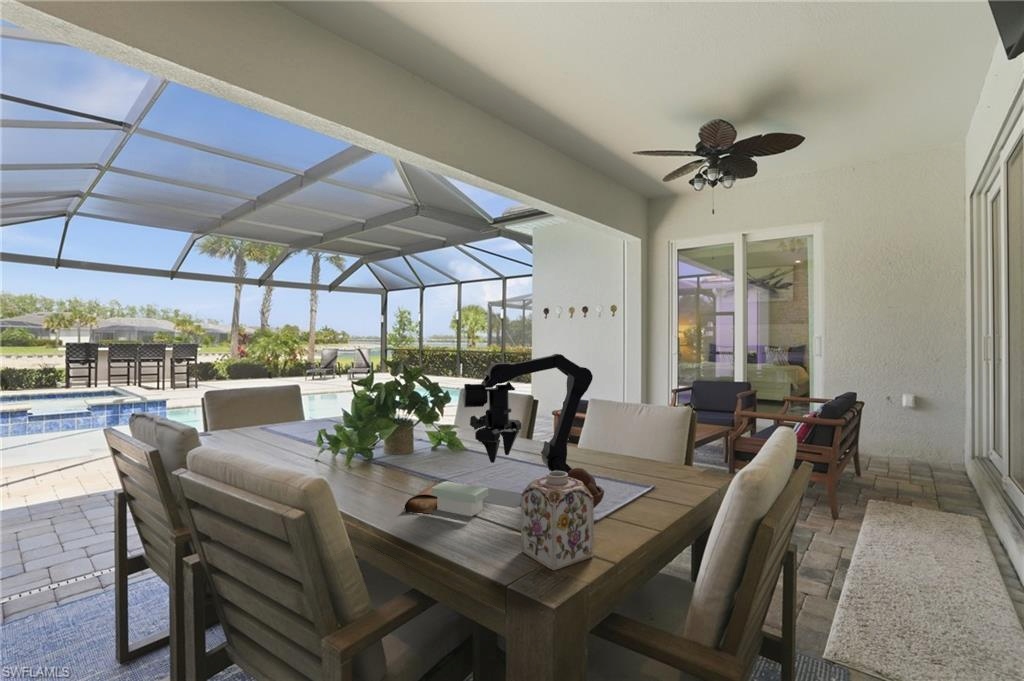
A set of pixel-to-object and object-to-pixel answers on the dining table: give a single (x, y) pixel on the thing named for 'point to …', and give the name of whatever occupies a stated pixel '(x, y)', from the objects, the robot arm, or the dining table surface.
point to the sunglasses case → (422, 502)
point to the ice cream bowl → (588, 484)
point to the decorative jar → (557, 520)
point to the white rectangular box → (459, 506)
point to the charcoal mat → (503, 497)
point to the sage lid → (459, 491)
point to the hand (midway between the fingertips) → (499, 458)
